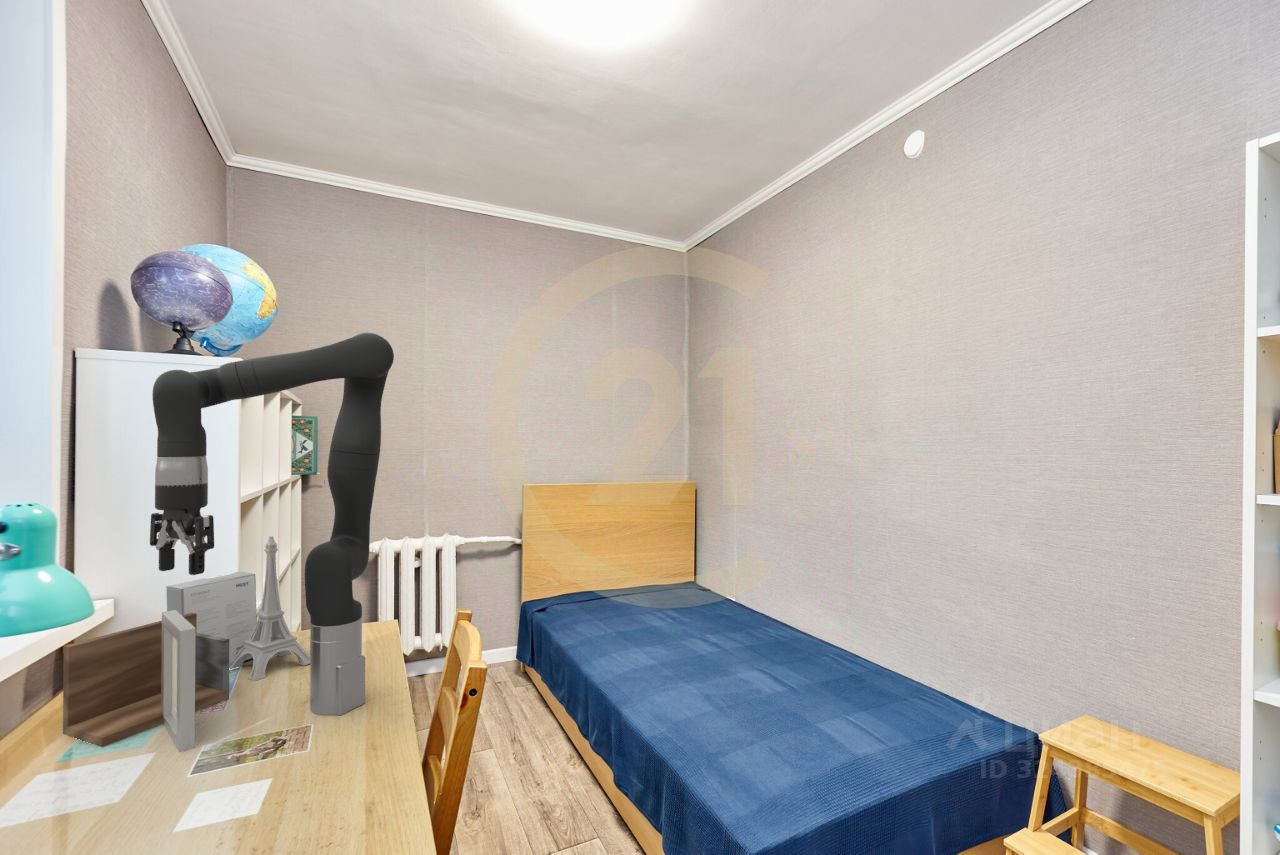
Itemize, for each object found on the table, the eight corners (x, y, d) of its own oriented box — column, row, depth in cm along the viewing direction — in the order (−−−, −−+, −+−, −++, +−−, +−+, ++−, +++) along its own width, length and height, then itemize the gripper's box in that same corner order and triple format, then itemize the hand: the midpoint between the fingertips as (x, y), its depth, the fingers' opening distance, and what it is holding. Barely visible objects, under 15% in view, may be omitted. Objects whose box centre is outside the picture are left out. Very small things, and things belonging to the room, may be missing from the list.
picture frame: (160, 724, 110) (161, 612, 110) (179, 718, 112) (180, 608, 112) (179, 754, 99) (180, 630, 99) (199, 748, 101) (200, 626, 102)
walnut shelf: (229, 698, 119) (229, 619, 119) (102, 750, 100) (102, 655, 100) (191, 689, 124) (191, 612, 124) (62, 736, 104) (63, 645, 105)
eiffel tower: (315, 662, 139) (315, 534, 139) (253, 682, 128) (254, 543, 128) (285, 651, 146) (285, 530, 146) (224, 669, 135) (225, 538, 135)
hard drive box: (242, 652, 145) (241, 571, 145) (258, 657, 141) (257, 573, 141) (166, 674, 131) (165, 584, 132) (182, 680, 127) (181, 587, 128)
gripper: (229, 481, 107) (228, 571, 107) (180, 479, 112) (179, 564, 112) (184, 484, 100) (183, 580, 100) (133, 482, 105) (133, 573, 105)
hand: (181, 572), depth 106 cm, fingers open, 8 cm apart
